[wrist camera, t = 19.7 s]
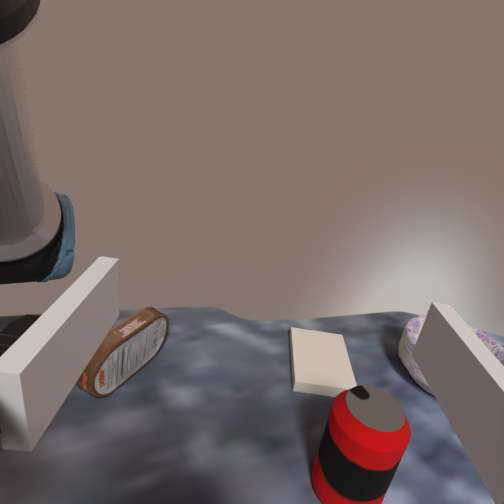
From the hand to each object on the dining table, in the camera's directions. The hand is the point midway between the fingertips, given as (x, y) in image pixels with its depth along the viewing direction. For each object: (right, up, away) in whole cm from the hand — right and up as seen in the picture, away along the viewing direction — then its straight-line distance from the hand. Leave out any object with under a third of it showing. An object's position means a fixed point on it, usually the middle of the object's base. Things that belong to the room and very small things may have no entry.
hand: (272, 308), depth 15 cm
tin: (-18, -15, +36) cm, 43 cm away
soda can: (+9, -24, +25) cm, 36 cm away
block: (+10, -18, +37) cm, 42 cm away
